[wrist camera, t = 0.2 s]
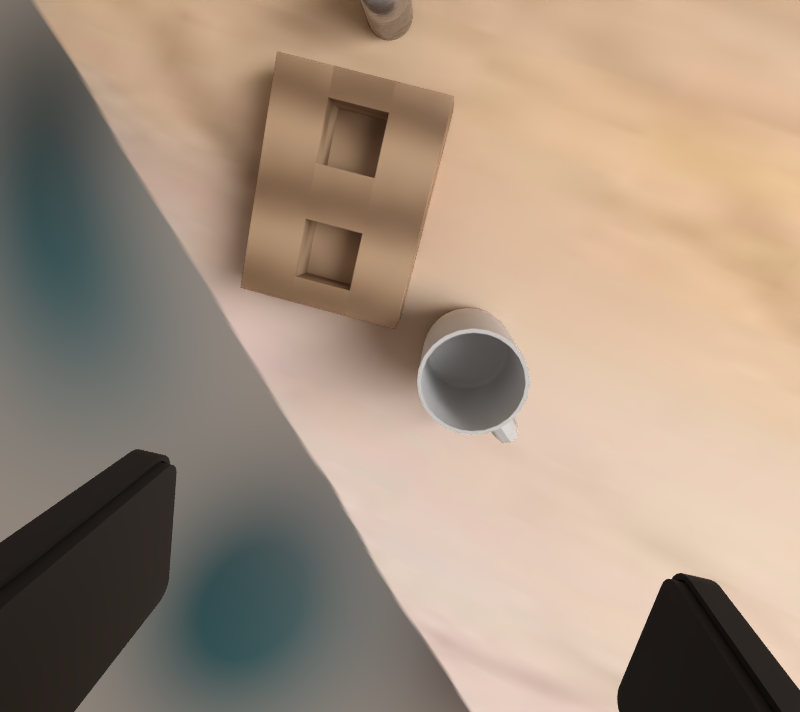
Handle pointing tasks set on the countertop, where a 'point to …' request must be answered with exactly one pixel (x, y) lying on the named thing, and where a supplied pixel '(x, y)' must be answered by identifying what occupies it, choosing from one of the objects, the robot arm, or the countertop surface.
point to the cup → (473, 375)
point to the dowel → (388, 17)
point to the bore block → (343, 188)
